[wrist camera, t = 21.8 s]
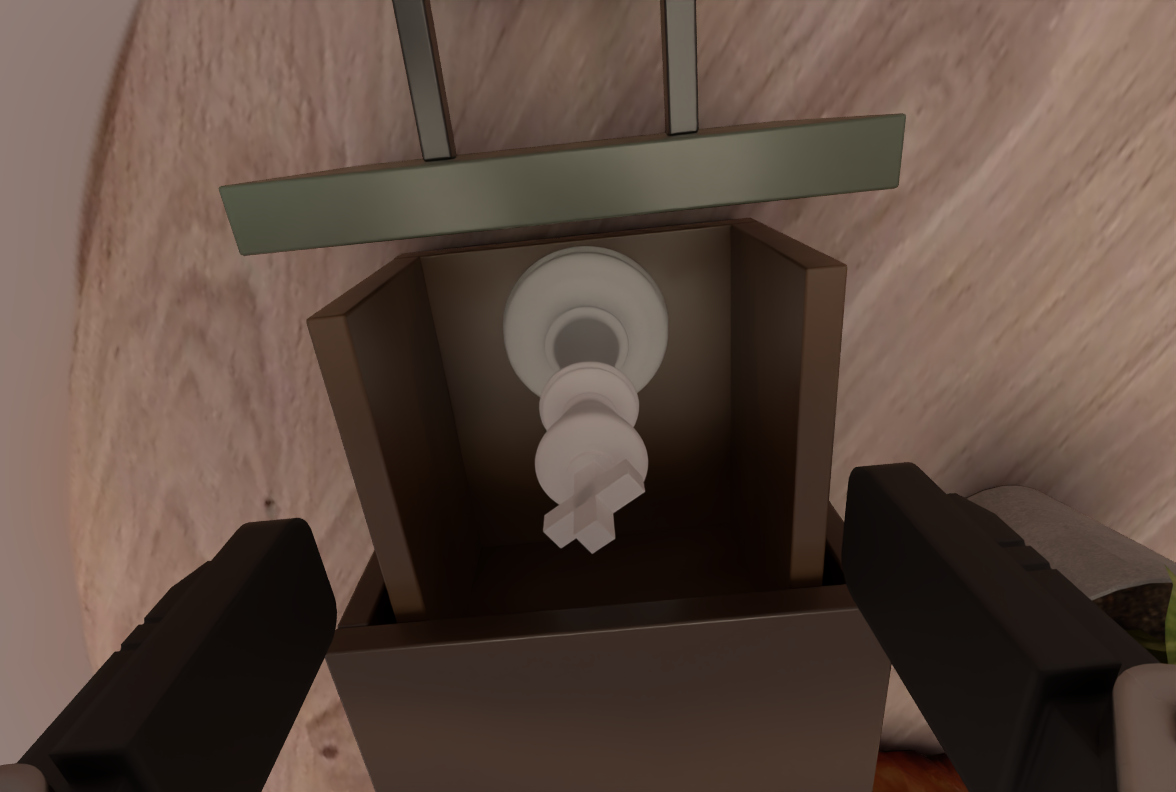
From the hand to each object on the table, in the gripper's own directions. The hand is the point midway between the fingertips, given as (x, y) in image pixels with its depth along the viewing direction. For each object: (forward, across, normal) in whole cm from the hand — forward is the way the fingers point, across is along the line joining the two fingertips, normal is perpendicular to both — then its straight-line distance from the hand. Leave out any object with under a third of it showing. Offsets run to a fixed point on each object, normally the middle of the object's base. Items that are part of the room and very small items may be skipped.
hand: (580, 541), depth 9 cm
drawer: (+11, 0, -1) cm, 11 cm away
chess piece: (+10, 0, 0) cm, 10 cm away
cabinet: (+12, 0, +12) cm, 17 cm away
